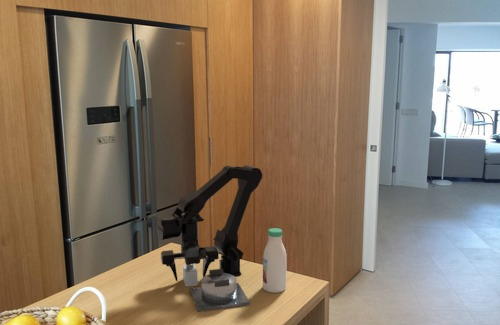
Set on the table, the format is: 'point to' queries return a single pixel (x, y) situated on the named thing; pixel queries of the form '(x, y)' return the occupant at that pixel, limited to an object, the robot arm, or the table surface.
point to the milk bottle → (274, 263)
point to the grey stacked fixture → (218, 292)
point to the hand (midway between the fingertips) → (190, 279)
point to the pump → (190, 275)
